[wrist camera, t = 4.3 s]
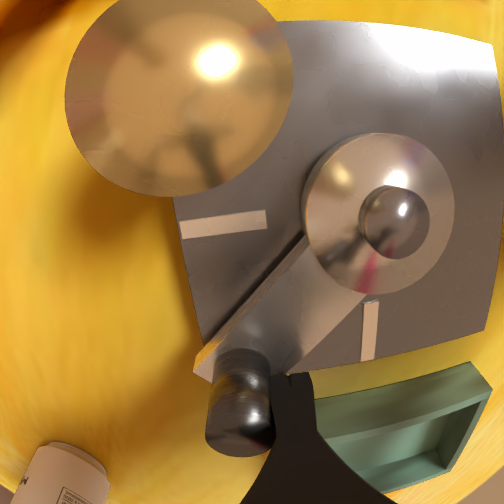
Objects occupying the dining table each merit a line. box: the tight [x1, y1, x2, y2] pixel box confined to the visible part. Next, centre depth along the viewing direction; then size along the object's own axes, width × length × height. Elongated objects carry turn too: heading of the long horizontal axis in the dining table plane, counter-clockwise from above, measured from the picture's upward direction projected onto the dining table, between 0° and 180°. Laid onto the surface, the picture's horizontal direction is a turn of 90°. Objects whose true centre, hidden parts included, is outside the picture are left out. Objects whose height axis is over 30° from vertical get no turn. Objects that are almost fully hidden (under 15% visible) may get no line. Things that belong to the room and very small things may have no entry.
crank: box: [193, 133, 454, 457], centre depth 9 cm, size 11×5×4 cm, turn 141°
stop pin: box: [65, 0, 294, 197], centre depth 7 cm, size 4×4×5 cm
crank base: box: [173, 21, 504, 374], centre depth 11 cm, size 13×13×1 cm
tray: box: [315, 361, 493, 494], centre depth 15 cm, size 10×8×3 cm
